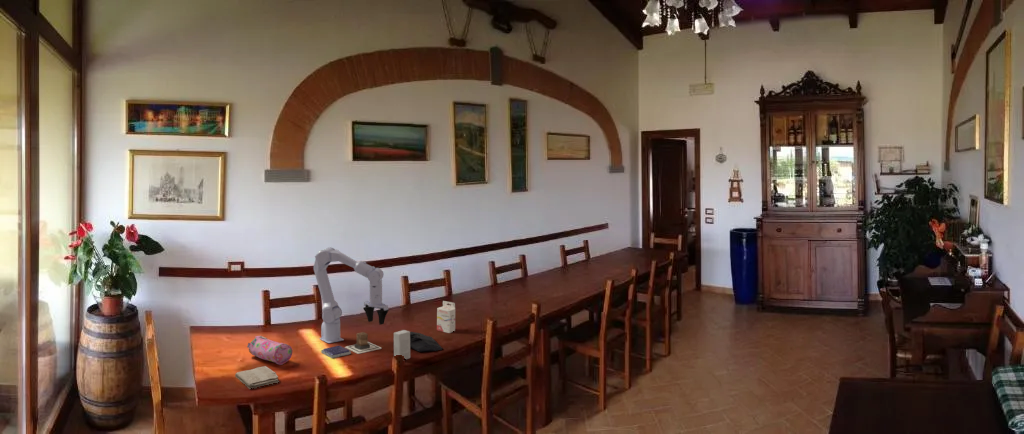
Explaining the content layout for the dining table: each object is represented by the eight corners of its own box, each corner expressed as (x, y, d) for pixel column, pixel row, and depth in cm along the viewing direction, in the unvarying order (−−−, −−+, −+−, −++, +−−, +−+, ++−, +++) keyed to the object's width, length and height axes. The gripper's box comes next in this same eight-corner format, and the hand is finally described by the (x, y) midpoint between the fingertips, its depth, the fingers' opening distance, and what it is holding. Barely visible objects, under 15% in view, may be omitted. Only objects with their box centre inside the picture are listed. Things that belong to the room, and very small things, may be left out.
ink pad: (321, 352, 266) (321, 348, 266) (340, 348, 272) (339, 344, 272) (332, 358, 259) (332, 354, 259) (350, 354, 265) (350, 350, 265)
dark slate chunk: (413, 355, 266) (413, 345, 266) (400, 341, 286) (400, 332, 286) (446, 351, 273) (446, 341, 273) (430, 338, 293) (430, 328, 292)
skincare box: (404, 356, 264) (404, 329, 263) (410, 358, 261) (410, 331, 260) (393, 359, 259) (393, 332, 258) (399, 361, 256) (399, 334, 255)
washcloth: (249, 391, 222) (249, 383, 222) (233, 378, 235) (233, 370, 235) (281, 383, 230) (281, 376, 230) (264, 371, 243) (264, 363, 243)
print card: (345, 347, 274) (345, 346, 274) (368, 342, 282) (368, 341, 282) (358, 354, 265) (358, 352, 265) (381, 348, 274) (381, 347, 274)
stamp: (354, 347, 274) (354, 333, 273) (364, 345, 277) (364, 331, 276) (359, 349, 270) (359, 335, 269) (369, 347, 273) (369, 333, 273)
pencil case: (246, 357, 259) (246, 336, 258) (266, 352, 266) (265, 332, 265) (274, 368, 246) (273, 346, 245) (294, 362, 253) (293, 341, 253)
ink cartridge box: (436, 330, 304) (436, 302, 303) (442, 328, 309) (442, 300, 307) (449, 333, 300) (449, 304, 299) (455, 331, 304) (455, 302, 303)
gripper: (358, 293, 282) (359, 322, 283) (380, 298, 273) (380, 327, 275) (370, 291, 288) (370, 318, 289) (391, 295, 279) (391, 324, 281)
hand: (375, 322), depth 282 cm, fingers open, 7 cm apart
